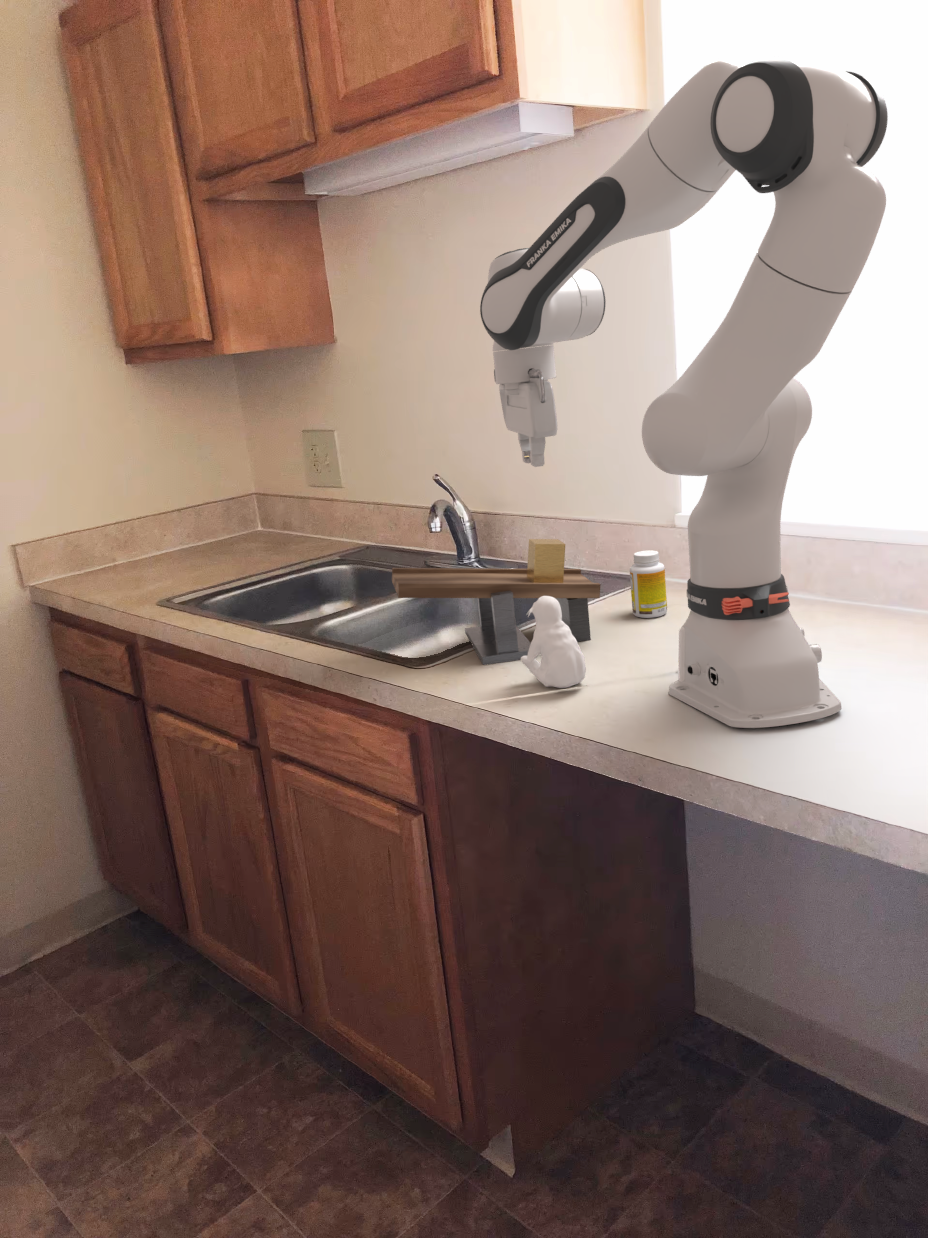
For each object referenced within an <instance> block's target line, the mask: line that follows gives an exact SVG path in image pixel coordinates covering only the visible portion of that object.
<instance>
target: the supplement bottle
mask: <svg viewBox="0 0 928 1238" xmlns="http://www.w3.org/2000/svg"><path fill="white" fill-rule="evenodd" d="M629 580H630V594H631V596H630V597H631V607H632V614H633V615H634V616H635V617H637V618H641V619H655V618H659V617H662V616H665V615H666V614H667V611H668V599H667V585H666V584H667V582H666V568H665V564H663V562H660V554H659V551H657V550H652V549H651V550H649V549H648V550H641V551H636V552H634V553H633V564H632V565H631V566H630V567H629Z"/></svg>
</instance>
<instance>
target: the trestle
mask: <svg viewBox="0 0 928 1238" xmlns="http://www.w3.org/2000/svg"><path fill="white" fill-rule="evenodd" d="M476 599H477V611H478V616H479V617H478V618H479V626H473V627H466V628H465V627H464V633H465V636H466V637H467V639H468V641H469V642H472V644H473V646H472V648H473V647H474V648H473V649H475V650H474V651H475V654H476V655H477V657H478V659H479V660H480V662H481V664H482V665H483V666H486V665H487V664H488V665H494V664H500V663H507V662H512V661H513V662H515V661H521V657H522V656H527V655H528V651H529V648H530V645H531V641H529V639H528V638H527V637H526V636H525V634H524V633H523V632H522V631H521V629H520V628H519V627H518V626H517V623H516V621H517V620H516V613H515V602H514V598H513V593H512V592H511V591H505V592H498V593H491V598H476ZM555 599H557V601H558V602H559V604H560V607H561V612H562V621H563V622H564V623H565V624H566V625H568V627H569V628H570V630H571V632H572V635H573V636H574V637H575V639H576V640H577V643H579V642H585V641H591V640H592V639H591V629H590V628H591V627H590V615H589V614H590V613H589V612H590V611H589V602H588V601H589V600H588V599H589V598H555ZM472 644H471V645H472ZM488 665H487V666H488Z"/></svg>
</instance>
